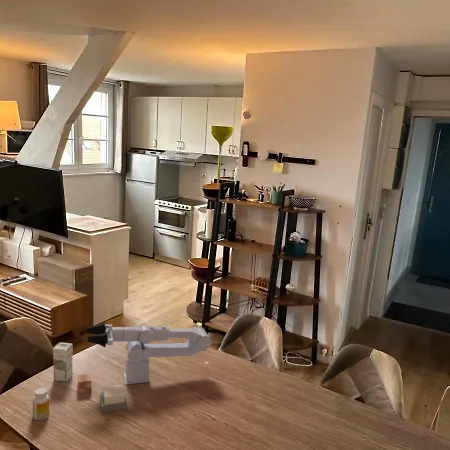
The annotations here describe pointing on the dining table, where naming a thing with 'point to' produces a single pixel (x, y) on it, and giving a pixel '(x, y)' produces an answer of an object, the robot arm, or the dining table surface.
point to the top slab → (113, 394)
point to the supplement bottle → (40, 404)
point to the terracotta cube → (84, 383)
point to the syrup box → (63, 361)
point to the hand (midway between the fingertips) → (87, 334)
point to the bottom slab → (112, 406)
